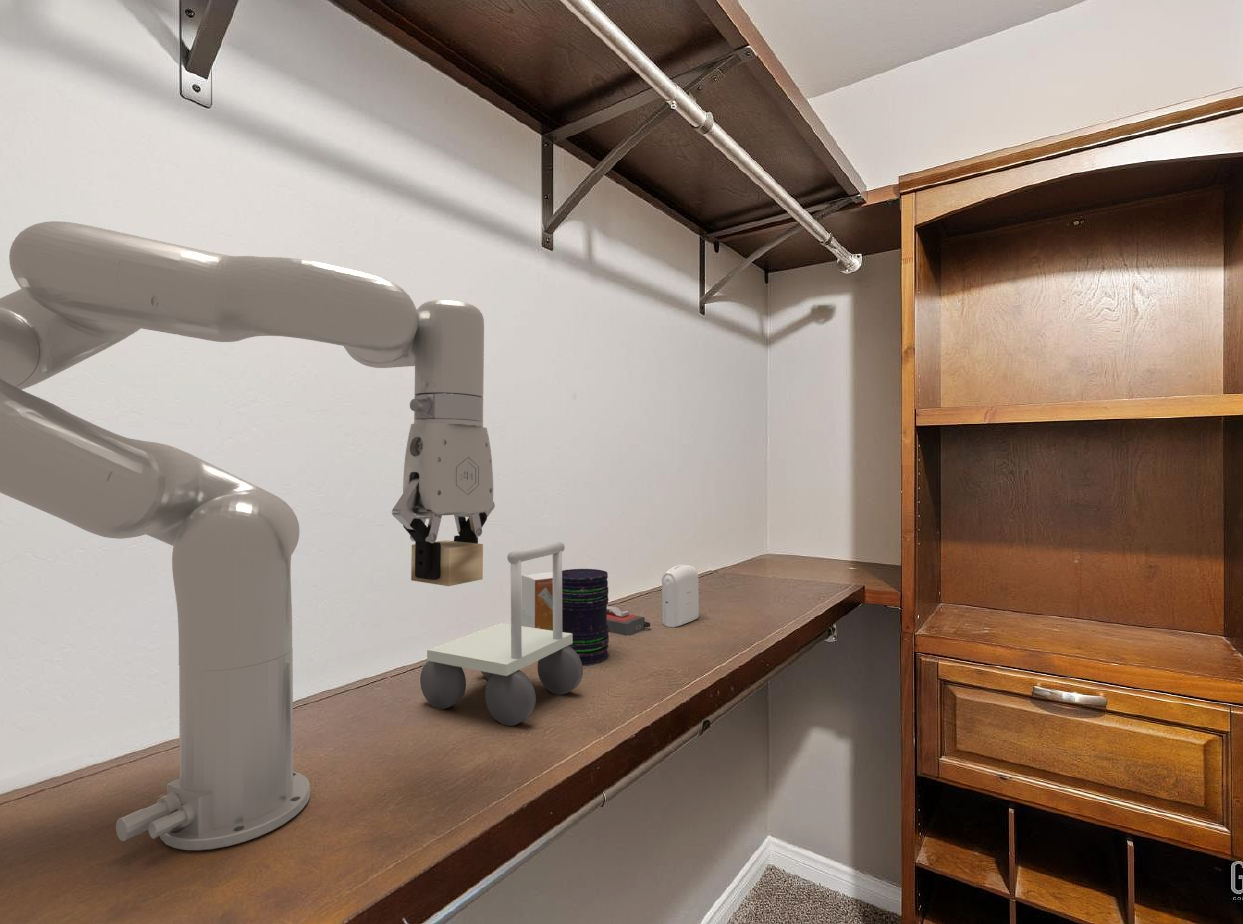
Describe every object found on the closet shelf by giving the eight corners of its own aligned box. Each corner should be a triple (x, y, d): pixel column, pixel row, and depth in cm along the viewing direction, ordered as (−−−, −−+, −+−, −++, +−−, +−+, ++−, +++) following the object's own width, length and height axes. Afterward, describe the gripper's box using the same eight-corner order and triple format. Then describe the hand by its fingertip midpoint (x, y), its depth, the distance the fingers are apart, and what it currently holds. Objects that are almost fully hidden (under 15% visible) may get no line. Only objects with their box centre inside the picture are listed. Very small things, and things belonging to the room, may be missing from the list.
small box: (534, 649, 113) (534, 579, 113) (520, 641, 118) (520, 574, 118) (572, 642, 117) (572, 575, 117) (557, 634, 123) (557, 570, 123)
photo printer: (676, 629, 126) (675, 569, 126) (659, 625, 129) (658, 567, 129) (701, 618, 134) (701, 563, 134) (685, 616, 137) (685, 561, 137)
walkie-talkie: (656, 629, 127) (584, 615, 139) (656, 608, 127) (584, 596, 139) (632, 639, 120) (558, 623, 132) (632, 616, 120) (558, 603, 132)
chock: (448, 586, 64) (449, 548, 64) (411, 580, 68) (411, 544, 68) (482, 579, 69) (482, 544, 69) (445, 574, 72) (446, 540, 72)
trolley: (522, 733, 77) (521, 555, 77) (414, 707, 86) (413, 547, 86) (586, 691, 91) (585, 541, 92) (488, 672, 100) (487, 535, 100)
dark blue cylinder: (600, 646, 114) (599, 567, 115) (616, 662, 105) (615, 576, 105) (548, 651, 111) (548, 570, 111) (560, 668, 102) (559, 580, 102)
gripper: (415, 404, 59) (413, 591, 59) (522, 418, 74) (520, 566, 74) (362, 407, 62) (360, 583, 62) (474, 420, 78) (473, 561, 77)
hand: (447, 572), depth 68 cm, fingers closed on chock, 5 cm apart
